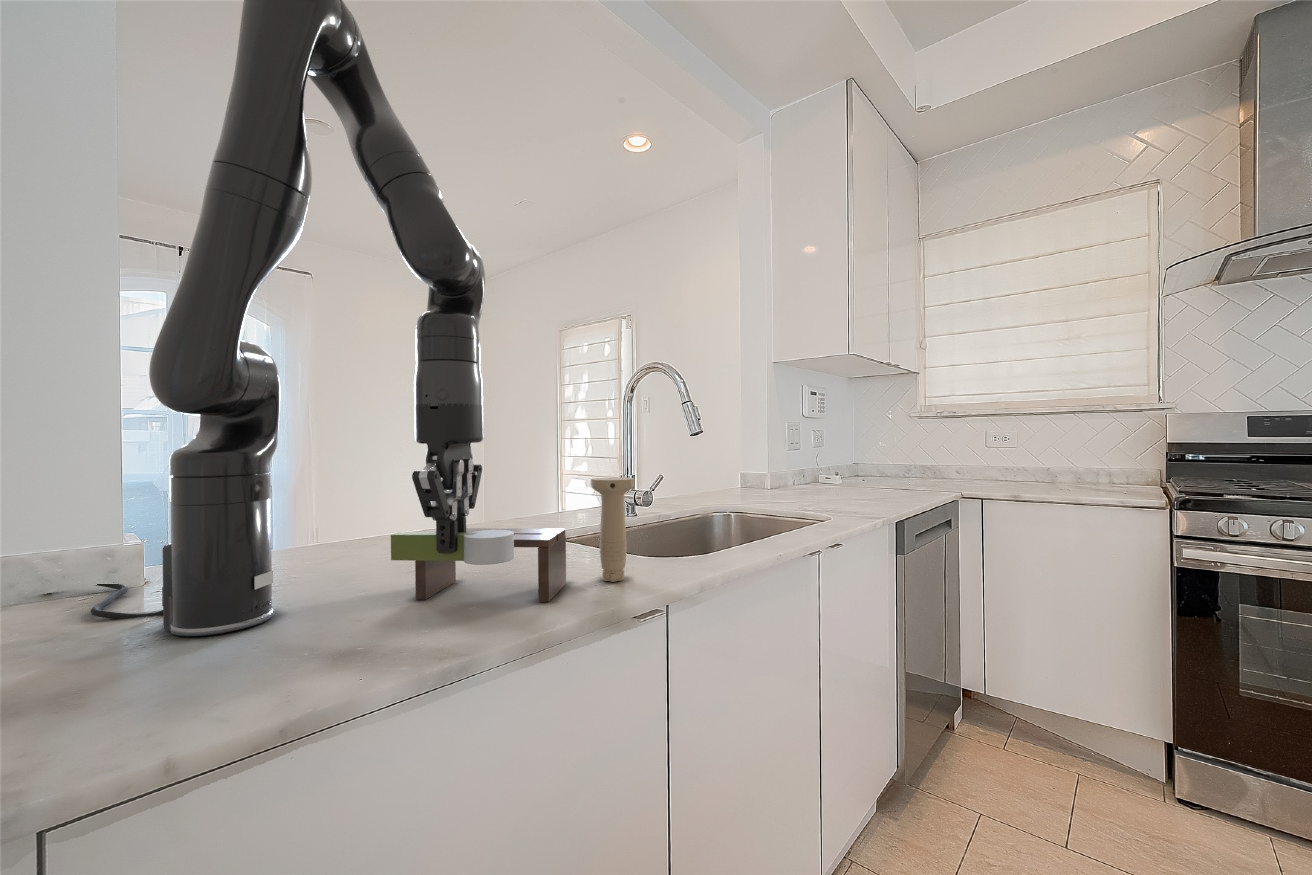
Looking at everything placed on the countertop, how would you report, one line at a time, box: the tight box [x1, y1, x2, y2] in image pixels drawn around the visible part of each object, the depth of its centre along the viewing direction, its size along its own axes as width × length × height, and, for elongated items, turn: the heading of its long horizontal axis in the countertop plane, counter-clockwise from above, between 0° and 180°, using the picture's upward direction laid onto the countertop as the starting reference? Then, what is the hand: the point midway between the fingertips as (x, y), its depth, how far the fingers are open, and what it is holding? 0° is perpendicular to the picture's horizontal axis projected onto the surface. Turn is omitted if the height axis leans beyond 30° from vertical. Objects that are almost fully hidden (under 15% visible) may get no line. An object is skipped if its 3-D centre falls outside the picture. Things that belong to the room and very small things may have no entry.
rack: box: [414, 527, 567, 603], centre depth 77 cm, size 18×9×8 cm, turn 85°
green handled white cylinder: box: [390, 530, 515, 566], centre depth 66 cm, size 14×6×3 cm, turn 85°
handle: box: [590, 477, 635, 583], centre depth 83 cm, size 5×6×15 cm
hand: (451, 549), depth 66 cm, fingers closed on green handled white cylinder, 2 cm apart
